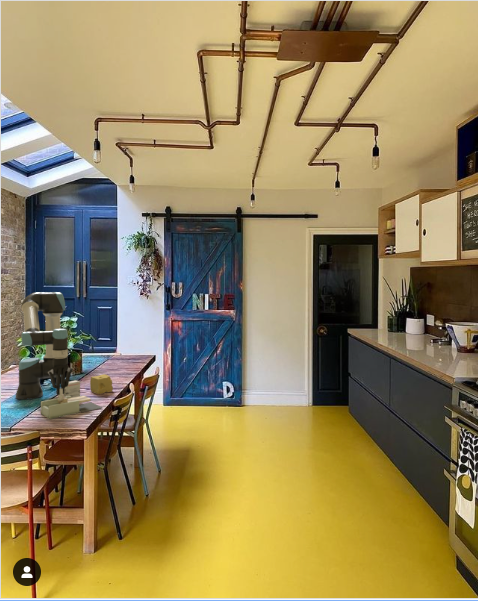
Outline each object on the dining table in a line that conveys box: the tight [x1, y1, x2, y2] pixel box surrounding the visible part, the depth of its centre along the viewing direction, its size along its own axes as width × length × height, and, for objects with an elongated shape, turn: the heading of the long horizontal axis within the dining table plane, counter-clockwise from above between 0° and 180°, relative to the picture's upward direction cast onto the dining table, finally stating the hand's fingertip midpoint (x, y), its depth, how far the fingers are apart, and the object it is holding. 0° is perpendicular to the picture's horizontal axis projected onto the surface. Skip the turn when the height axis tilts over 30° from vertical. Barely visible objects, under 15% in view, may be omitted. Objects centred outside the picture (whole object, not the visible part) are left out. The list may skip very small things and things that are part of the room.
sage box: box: [40, 396, 80, 420], centre depth 227 cm, size 12×16×7 cm
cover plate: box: [58, 395, 92, 404], centre depth 233 cm, size 9×15×4 cm, turn 134°
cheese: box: [89, 374, 114, 395], centre depth 272 cm, size 10×11×10 cm
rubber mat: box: [79, 401, 103, 413], centre depth 238 cm, size 14×12×1 cm
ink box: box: [63, 380, 81, 398], centre depth 250 cm, size 9×5×12 cm, turn 141°
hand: (60, 400), depth 227 cm, fingers closed
